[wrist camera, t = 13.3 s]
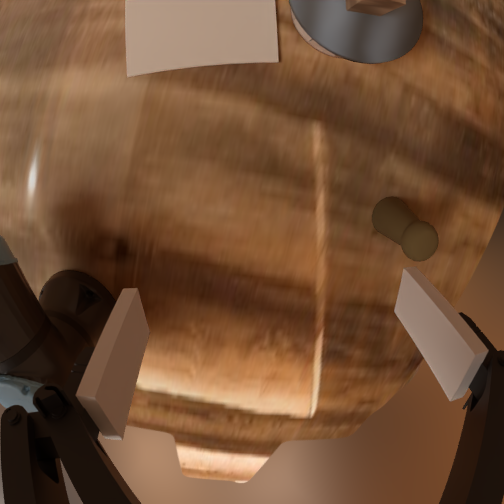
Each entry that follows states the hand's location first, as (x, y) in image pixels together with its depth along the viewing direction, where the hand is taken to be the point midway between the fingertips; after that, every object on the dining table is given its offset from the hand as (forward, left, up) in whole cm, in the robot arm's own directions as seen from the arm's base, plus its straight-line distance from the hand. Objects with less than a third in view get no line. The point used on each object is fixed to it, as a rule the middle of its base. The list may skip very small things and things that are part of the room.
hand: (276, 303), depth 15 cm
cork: (+21, -7, -29) cm, 36 cm away
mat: (-5, +24, -29) cm, 38 cm away
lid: (+13, +22, -22) cm, 33 cm away
